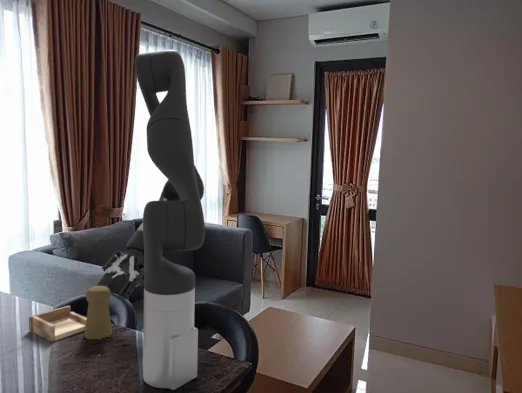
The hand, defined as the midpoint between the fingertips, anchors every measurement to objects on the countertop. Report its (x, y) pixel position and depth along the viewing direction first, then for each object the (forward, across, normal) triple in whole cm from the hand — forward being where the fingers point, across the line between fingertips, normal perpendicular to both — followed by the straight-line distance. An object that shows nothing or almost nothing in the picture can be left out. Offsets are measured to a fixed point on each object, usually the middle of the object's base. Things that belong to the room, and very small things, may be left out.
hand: (110, 293), depth 100 cm
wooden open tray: (+11, -8, +1) cm, 14 cm away
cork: (+9, 0, +4) cm, 9 cm away
